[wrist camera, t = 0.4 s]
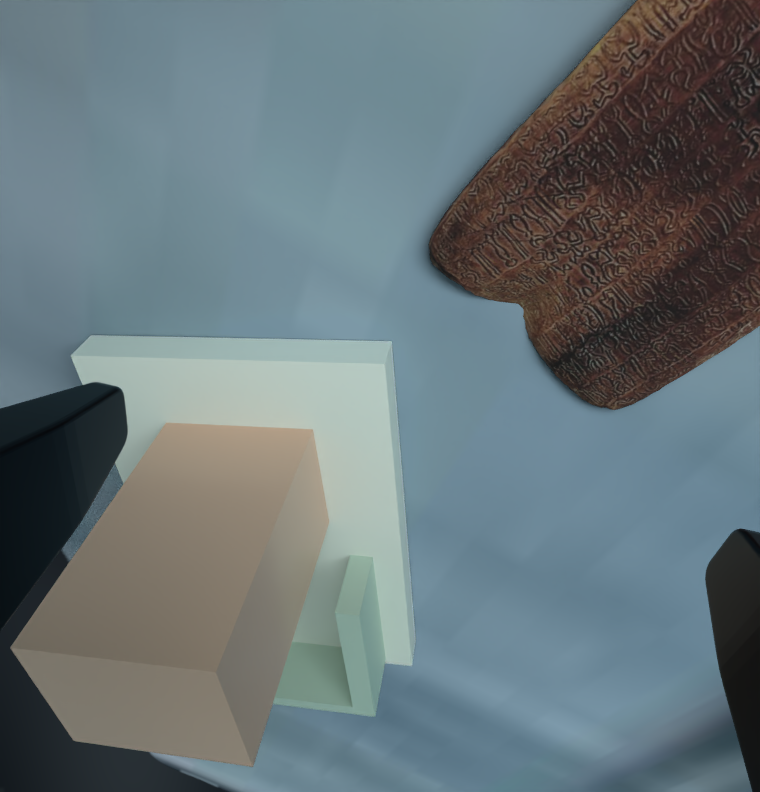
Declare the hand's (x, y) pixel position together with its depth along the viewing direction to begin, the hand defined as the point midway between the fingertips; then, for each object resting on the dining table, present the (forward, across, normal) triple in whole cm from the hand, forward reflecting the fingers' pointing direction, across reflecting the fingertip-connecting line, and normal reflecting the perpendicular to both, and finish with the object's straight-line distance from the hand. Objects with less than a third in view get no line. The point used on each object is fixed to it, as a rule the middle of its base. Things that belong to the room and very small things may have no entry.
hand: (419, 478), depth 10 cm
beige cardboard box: (+11, -6, -13) cm, 18 cm away
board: (+13, -5, -17) cm, 22 cm away
